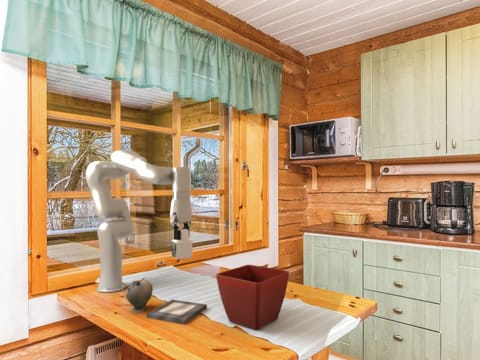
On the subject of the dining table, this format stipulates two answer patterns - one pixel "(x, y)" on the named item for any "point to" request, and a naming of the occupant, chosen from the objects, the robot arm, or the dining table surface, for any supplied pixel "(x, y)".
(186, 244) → the medicine bottle
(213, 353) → the dining table surface
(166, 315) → the charcoal board
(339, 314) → the dining table surface
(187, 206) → the robot arm
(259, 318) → the plant pot
